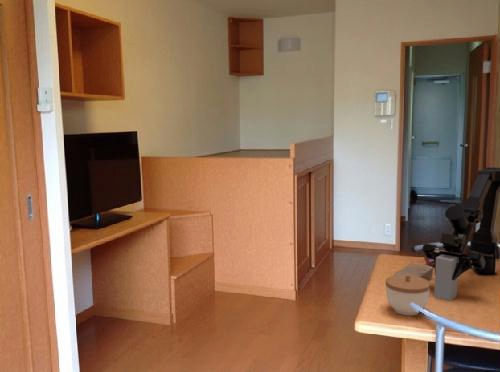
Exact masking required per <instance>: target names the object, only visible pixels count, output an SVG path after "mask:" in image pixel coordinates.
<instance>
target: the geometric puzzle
mask: <svg viewBox="0 0 500 372" xmlns="http://www.w3.org/2000/svg"><path fill="white" fill-rule="evenodd" d="M422 256H423V258H424V261H425V263H426V264H425V265H428V266H433V265H434V266H435V262H434V259H429V258H427V257H426V256H425V254H424V255H422Z"/></svg>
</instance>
